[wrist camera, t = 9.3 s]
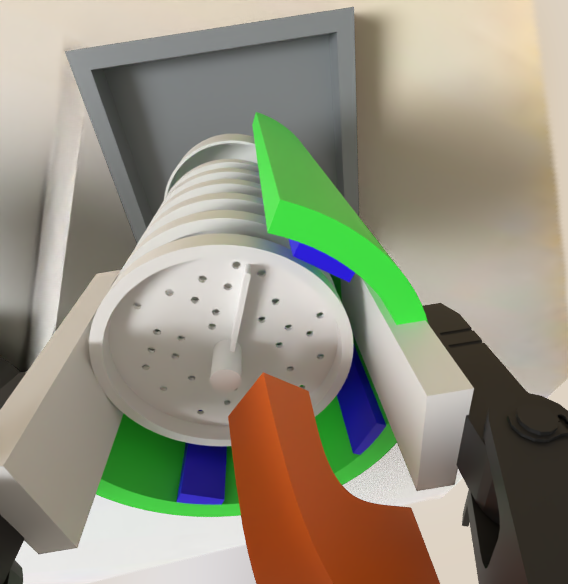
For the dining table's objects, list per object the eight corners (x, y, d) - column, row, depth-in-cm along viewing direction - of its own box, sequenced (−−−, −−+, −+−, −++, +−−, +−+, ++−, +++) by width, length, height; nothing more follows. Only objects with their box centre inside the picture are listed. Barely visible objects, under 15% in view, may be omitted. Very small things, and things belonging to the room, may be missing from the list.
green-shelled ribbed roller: (197, 84, 17) (-154, 246, 2) (348, 153, 19) (767, 481, 4) (151, 253, 21) (-75, 748, 6) (280, 293, 23) (362, 721, 8)
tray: (163, 277, 31) (156, 296, 29) (84, 52, 23) (64, 51, 20) (350, 246, 31) (360, 262, 29) (341, 13, 23) (353, 6, 20)
